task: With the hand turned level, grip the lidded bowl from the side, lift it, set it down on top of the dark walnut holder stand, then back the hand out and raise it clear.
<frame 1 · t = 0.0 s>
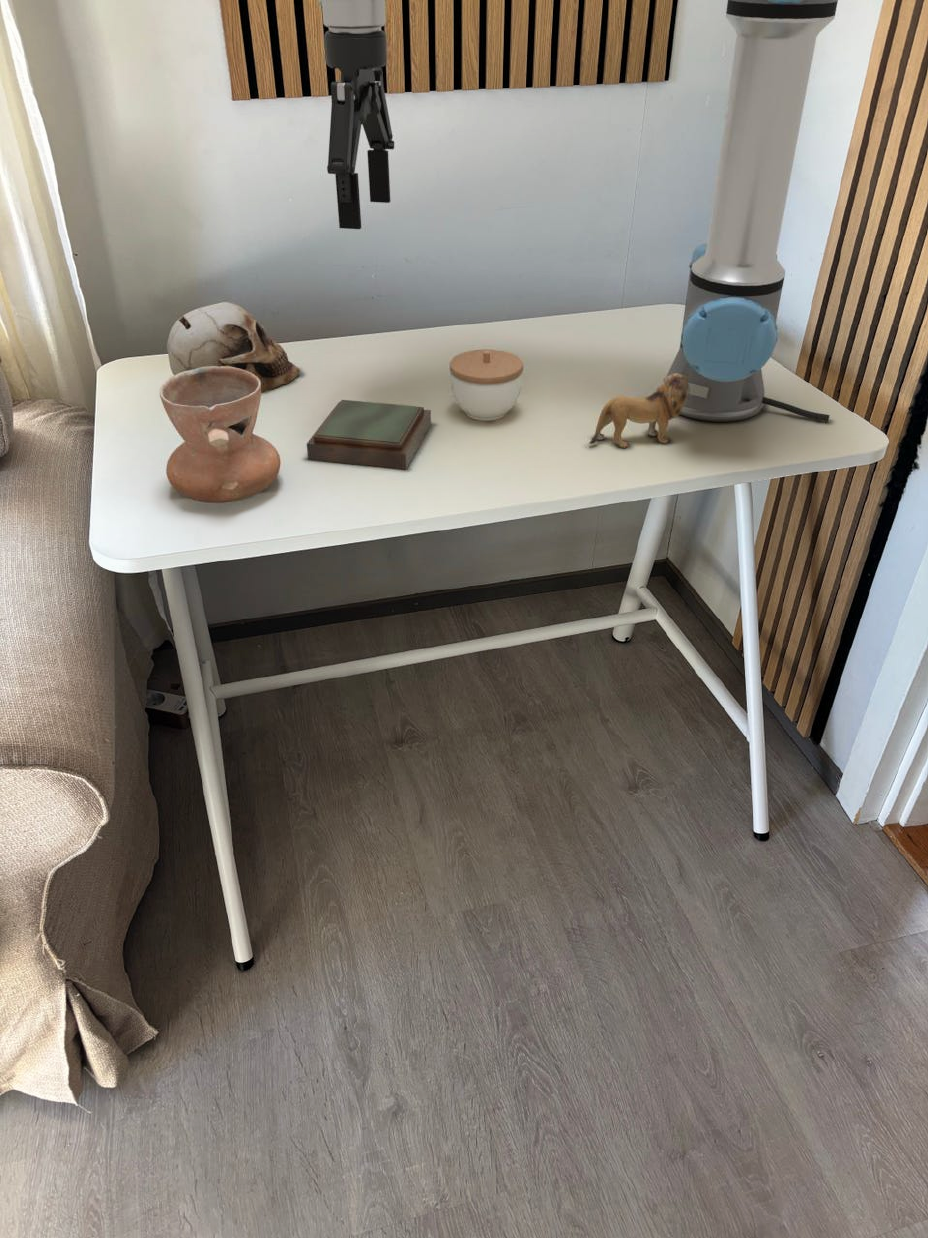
hand: (366, 214, 129), 28 cm above the table, tool pointing down, fingers open, 13 cm apart
holder: (371, 441, 137), on the table
orange-brown waisted vessel: (227, 486, 127), on the table
lidded bowl: (486, 413, 145), on the table
coin bank: (238, 383, 154), on the table
lion figurine: (638, 439, 138), on the table
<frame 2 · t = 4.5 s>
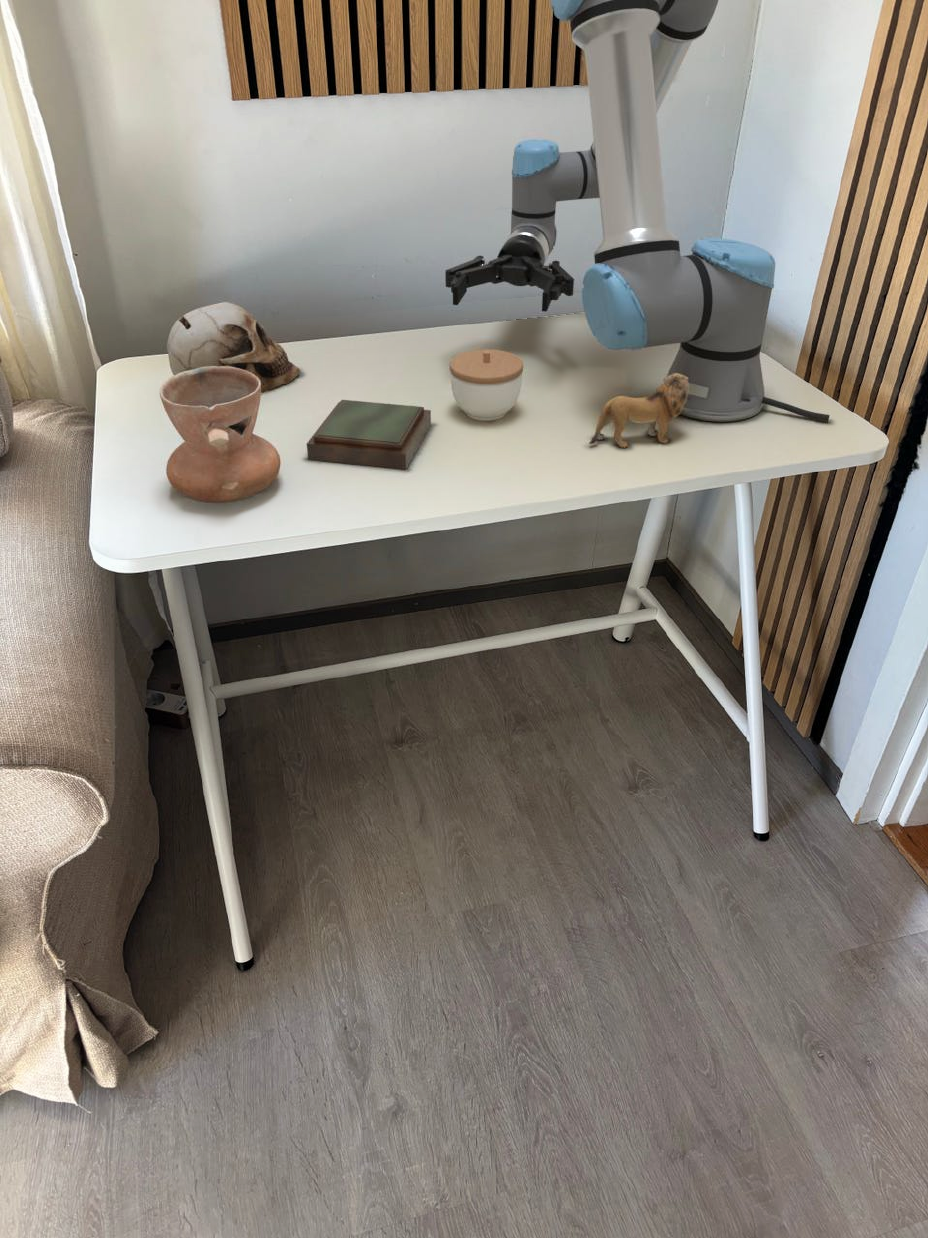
hand: (499, 299, 144), 14 cm above the table, tool horizontal, fingers open, 13 cm apart
nothing on the table moved.
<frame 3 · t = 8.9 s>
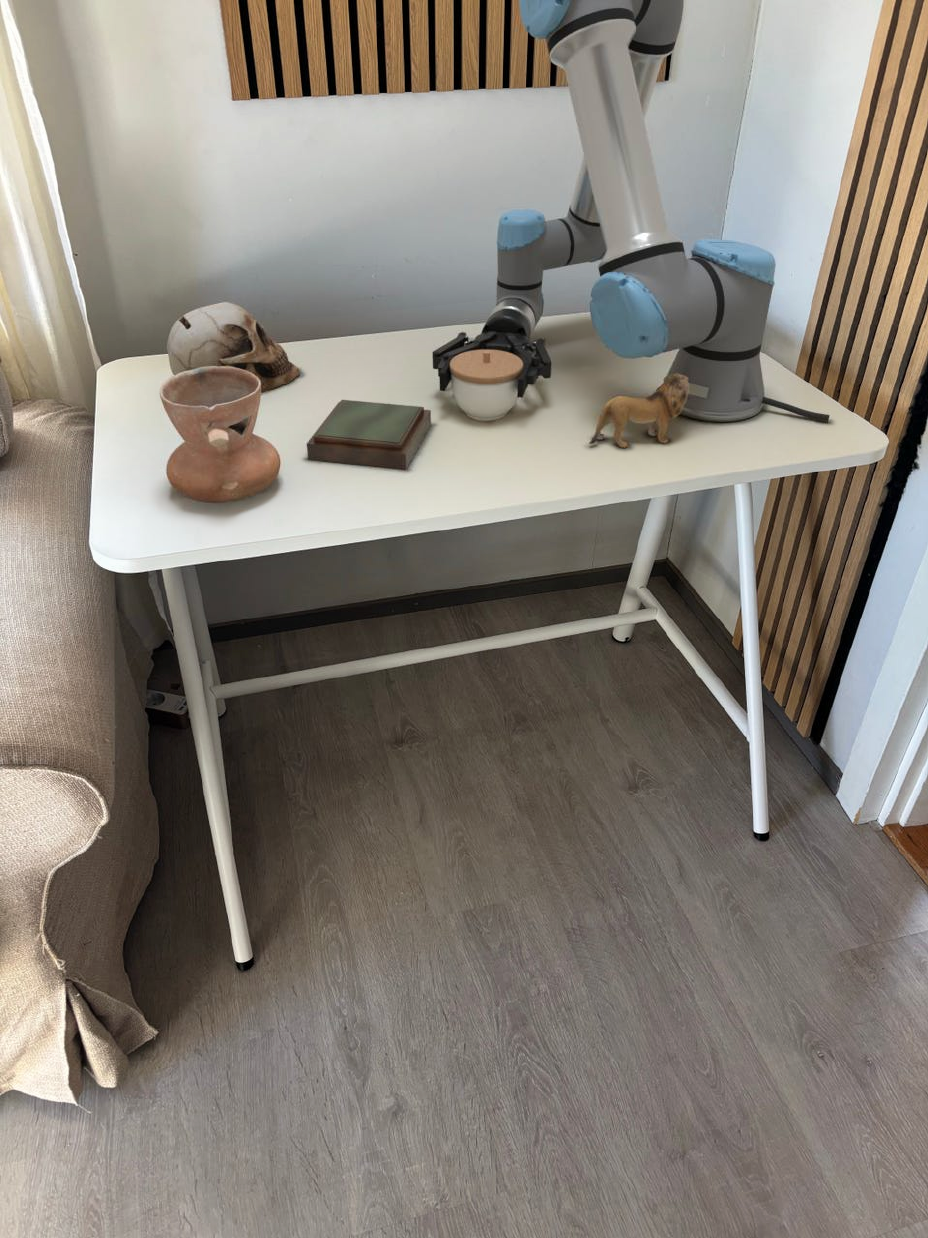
hand: (480, 385, 138), 6 cm above the table, tool horizontal, fingers closed on lidded bowl, 11 cm apart
lidded bowl: (486, 413, 145), on the table, touching gripper
everything else where it was.
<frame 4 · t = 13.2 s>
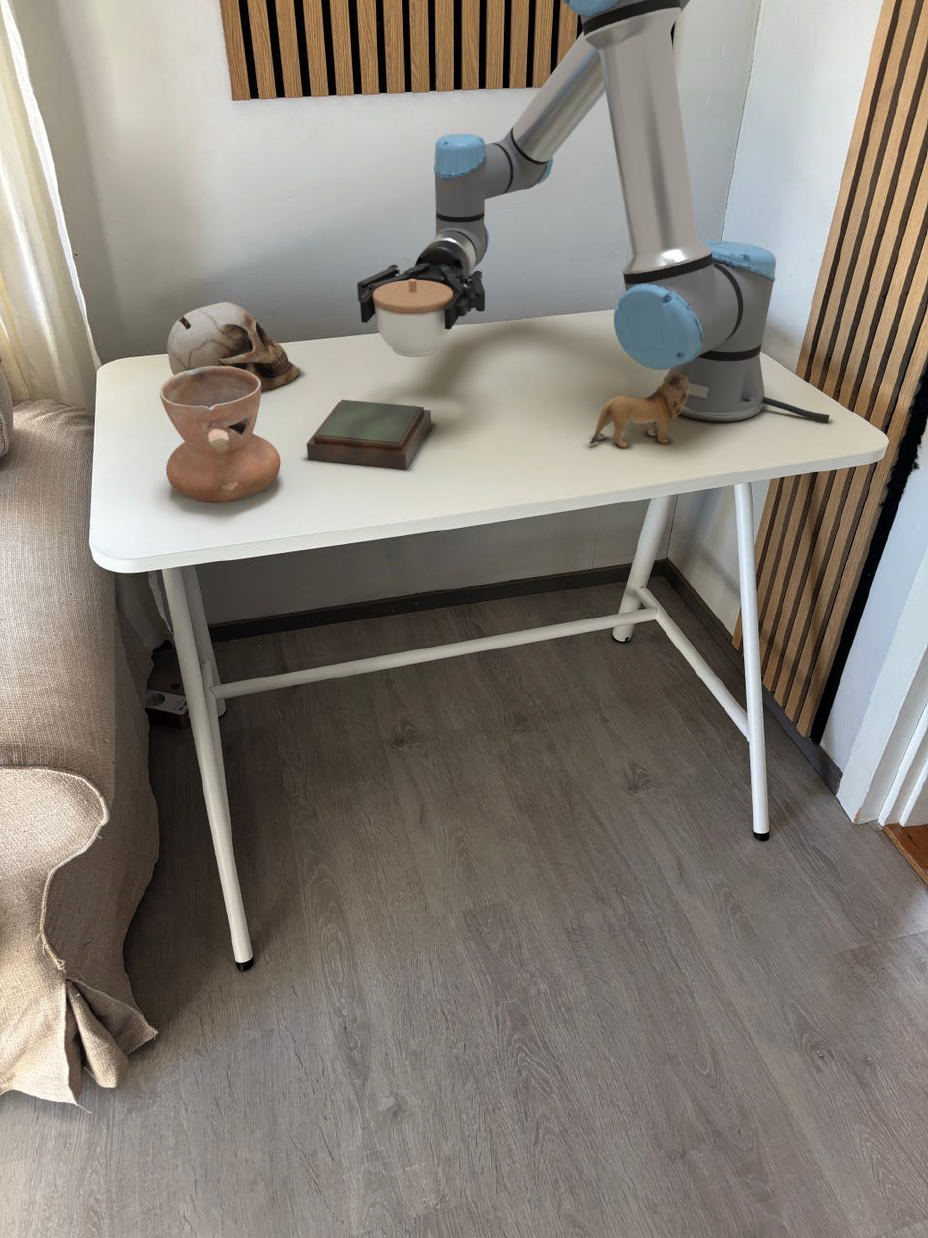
hand: (405, 315, 126), 18 cm above the table, tool horizontal, fingers closed on lidded bowl, 11 cm apart
lidded bowl: (414, 349, 133), point 12 cm above the table, touching gripper
everything else where it was.
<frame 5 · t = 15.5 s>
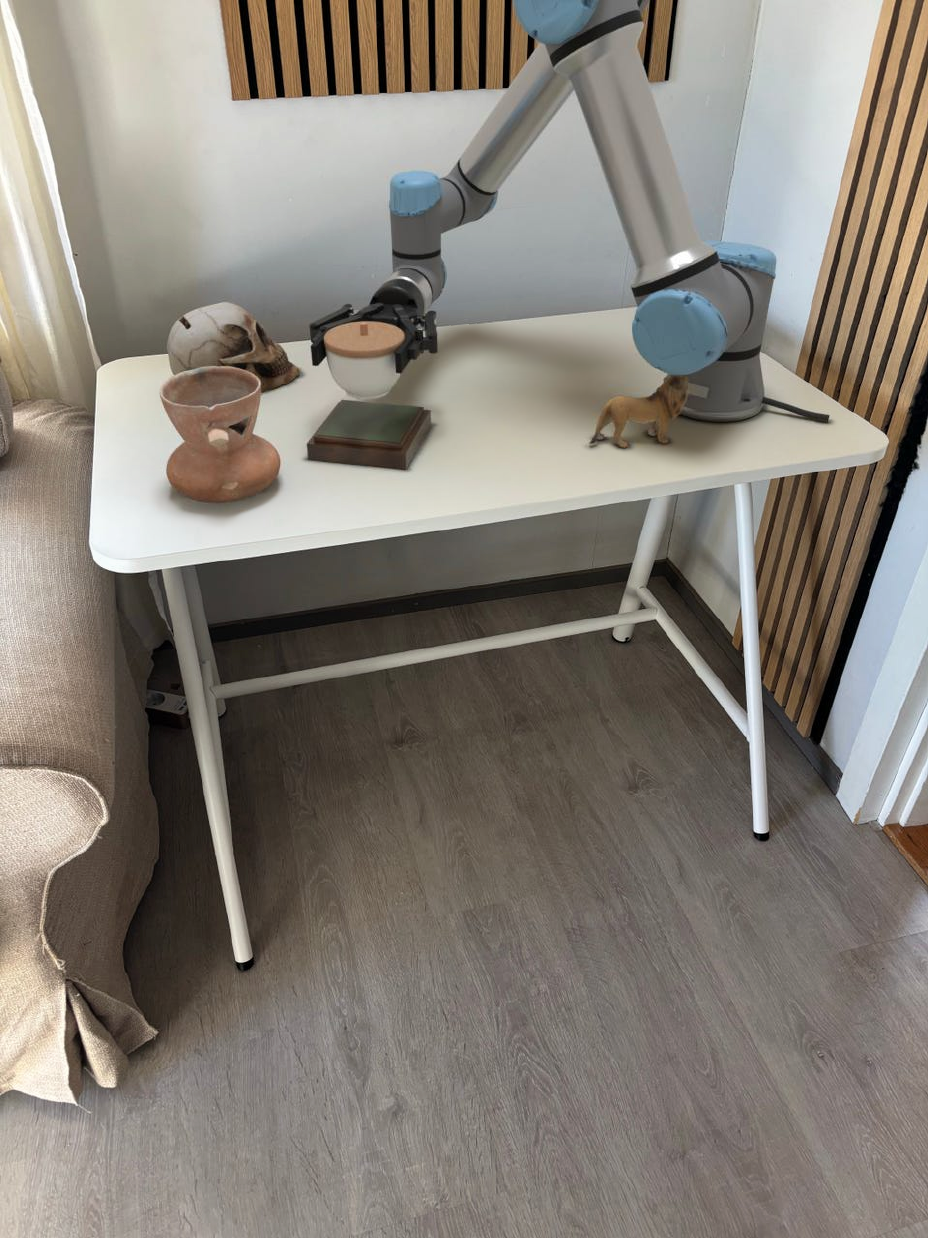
hand: (355, 359, 125), 14 cm above the table, tool horizontal, fingers closed on lidded bowl, 11 cm apart
lidded bowl: (367, 391, 132), point 8 cm above the table, touching gripper
everything else where it was.
when the fingers open (9 cm above the table, at t = 17.4 s): lidded bowl stays where it is, resting on holder.
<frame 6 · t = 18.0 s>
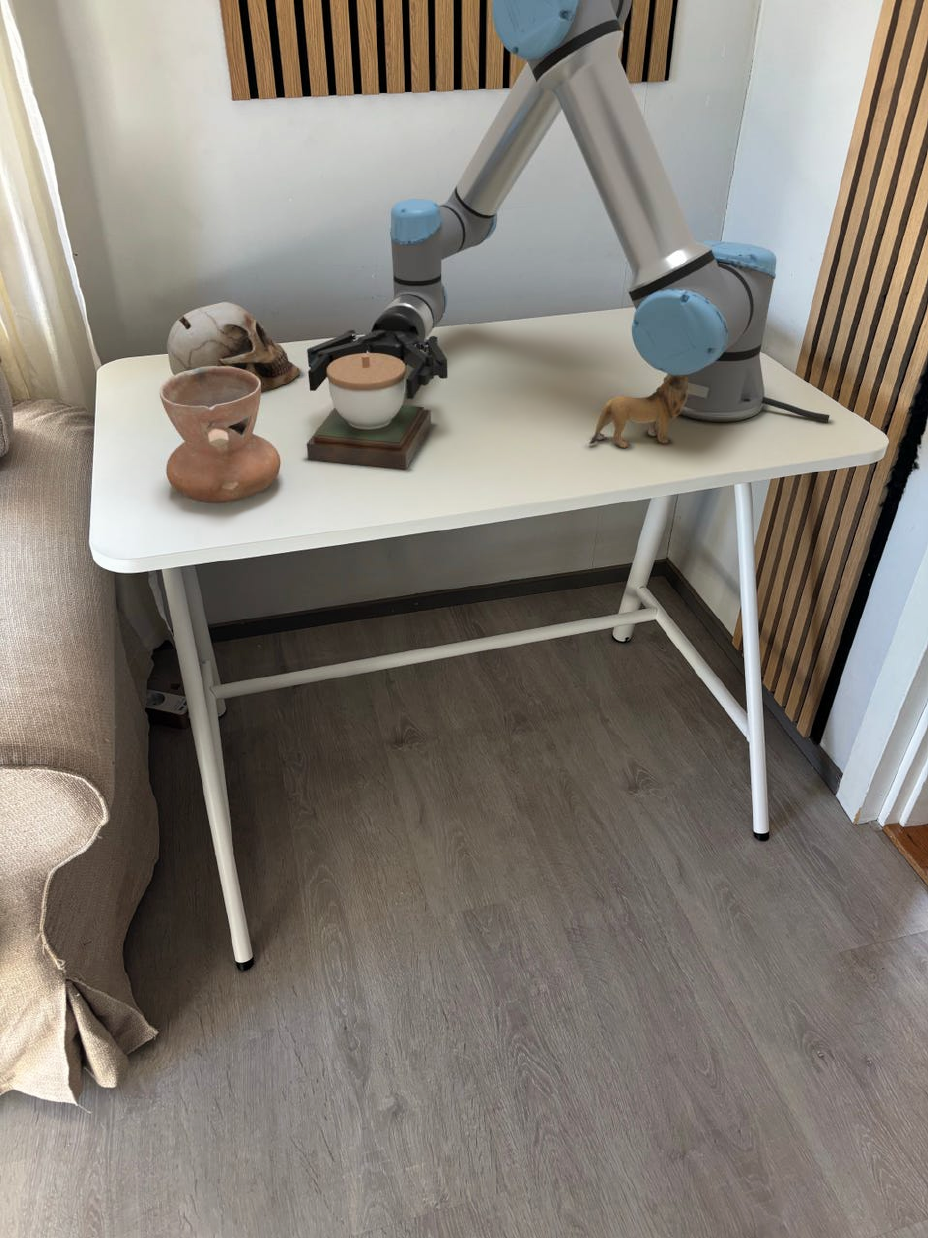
hand: (359, 385, 128), 10 cm above the table, tool horizontal, fingers open, 13 cm apart
lidded bowl: (369, 421, 135), point 3 cm above the table, touching holder
everything else where it was.
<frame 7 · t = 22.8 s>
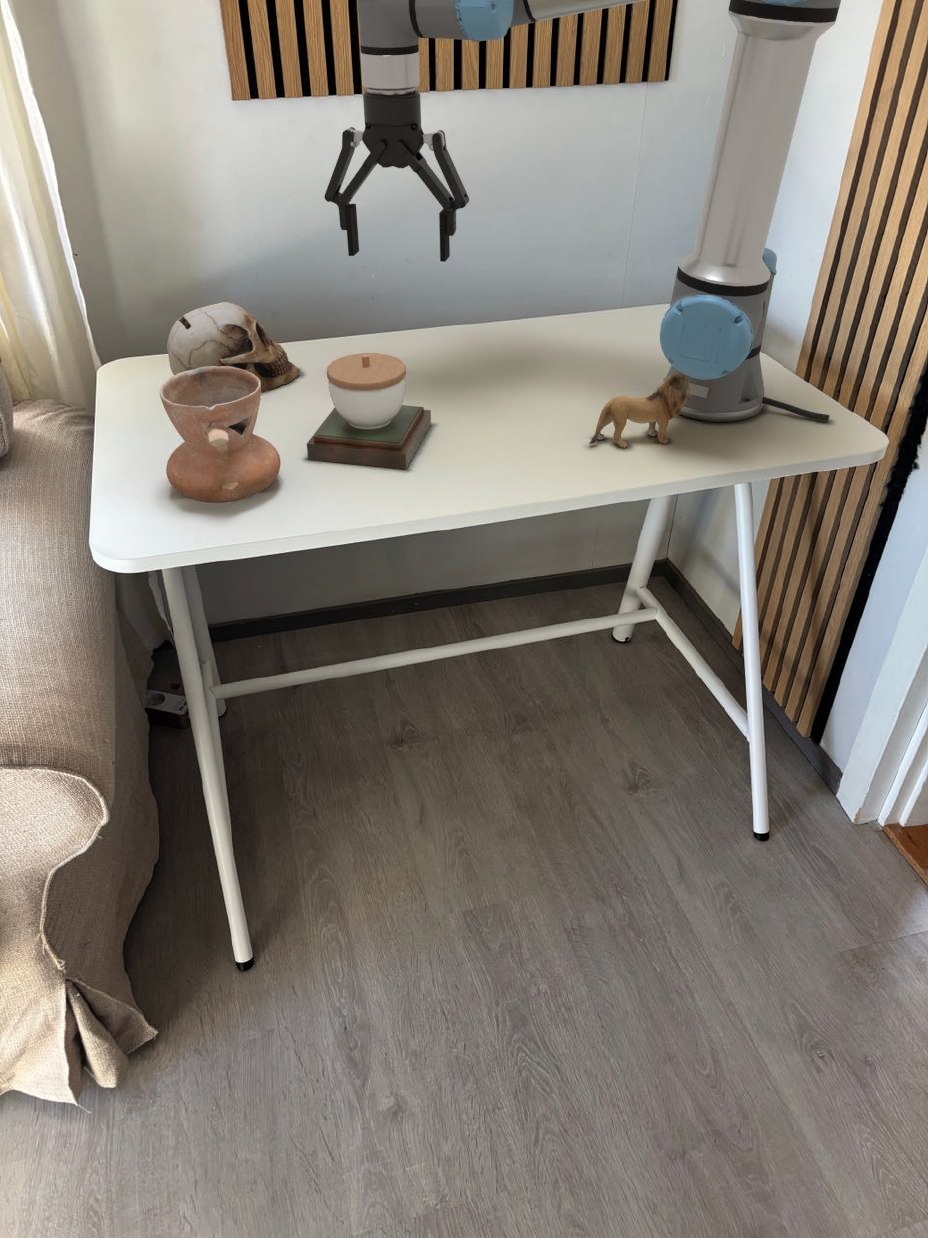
hand: (399, 256, 139), 21 cm above the table, tool pointing down, fingers open, 13 cm apart
nothing on the table moved.
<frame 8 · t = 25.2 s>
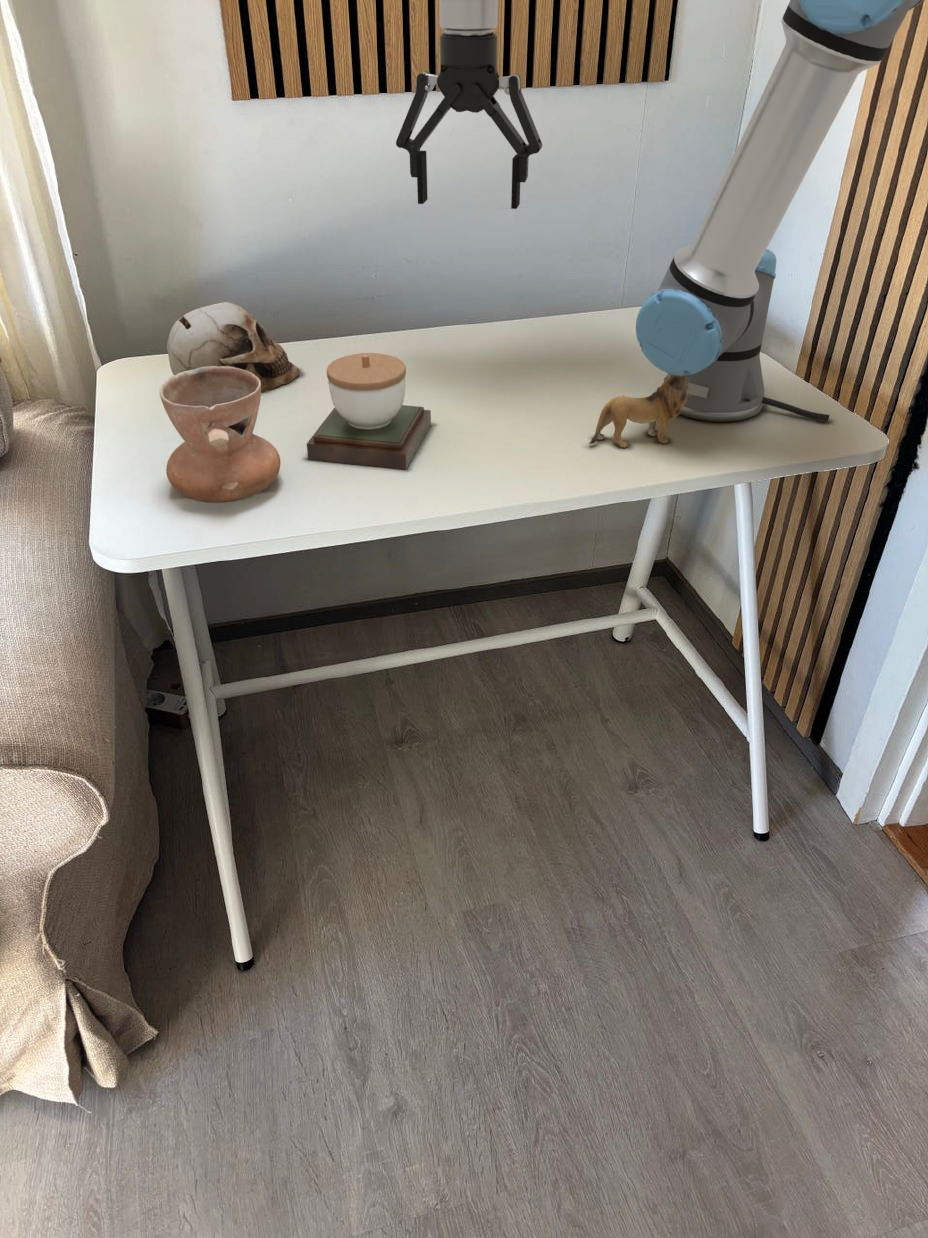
hand: (468, 204, 138), 27 cm above the table, tool pointing down, fingers open, 13 cm apart
nothing on the table moved.
at the end: lidded bowl inside the target area on the holder (0.1 cm from its centre), point 3.1 cm above the holder's base; lidded bowl tilted 0°; the gripper is holding nothing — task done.
